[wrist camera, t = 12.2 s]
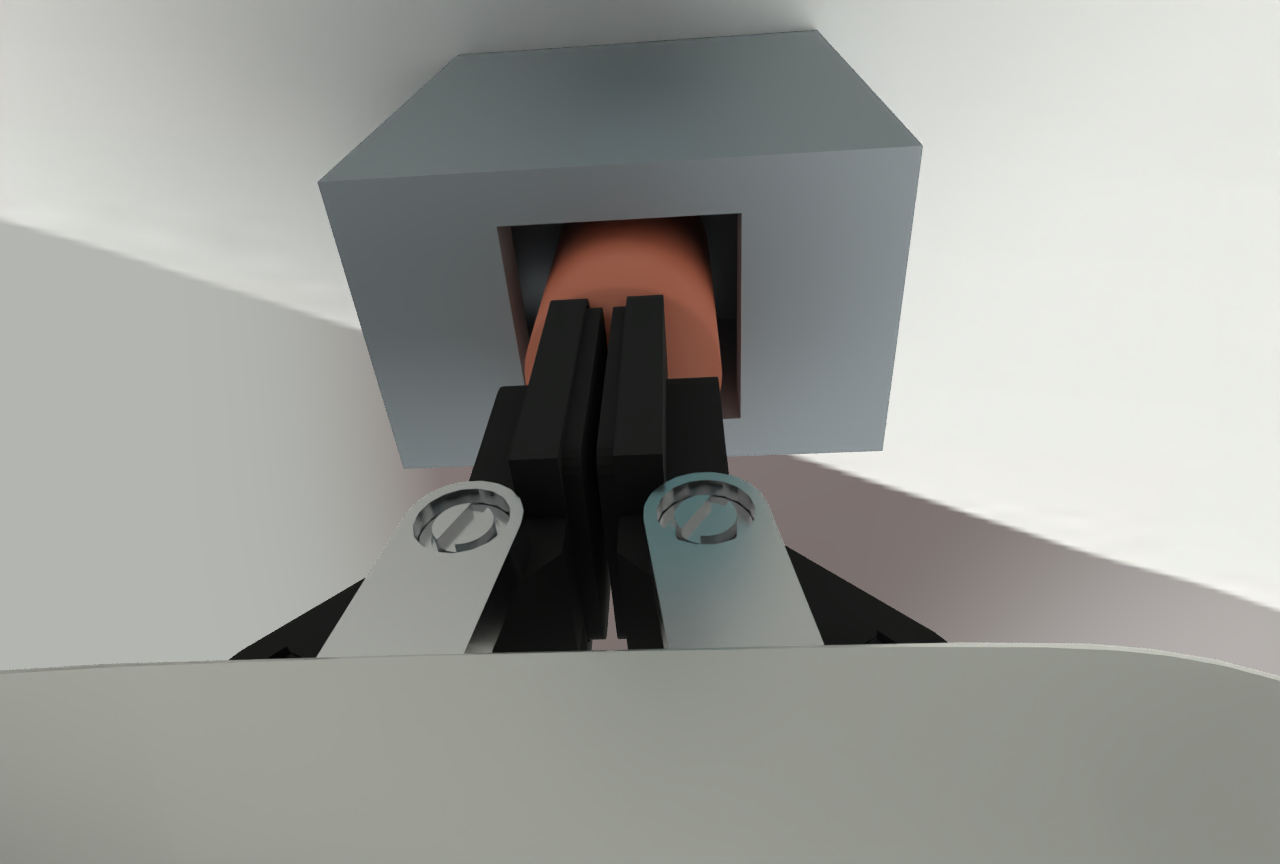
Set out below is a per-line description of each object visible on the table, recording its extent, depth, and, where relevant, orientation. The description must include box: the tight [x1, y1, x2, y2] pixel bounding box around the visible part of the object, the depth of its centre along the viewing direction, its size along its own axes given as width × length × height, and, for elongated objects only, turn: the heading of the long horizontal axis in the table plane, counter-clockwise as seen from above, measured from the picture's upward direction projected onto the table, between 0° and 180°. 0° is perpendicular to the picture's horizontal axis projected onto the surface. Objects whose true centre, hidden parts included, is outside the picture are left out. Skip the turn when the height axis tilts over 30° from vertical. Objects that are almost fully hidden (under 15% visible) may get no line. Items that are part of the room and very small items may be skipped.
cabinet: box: [318, 30, 923, 469], centre depth 18 cm, size 6×9×10 cm, turn 94°
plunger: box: [525, 215, 722, 389], centre depth 14 cm, size 3×3×5 cm
